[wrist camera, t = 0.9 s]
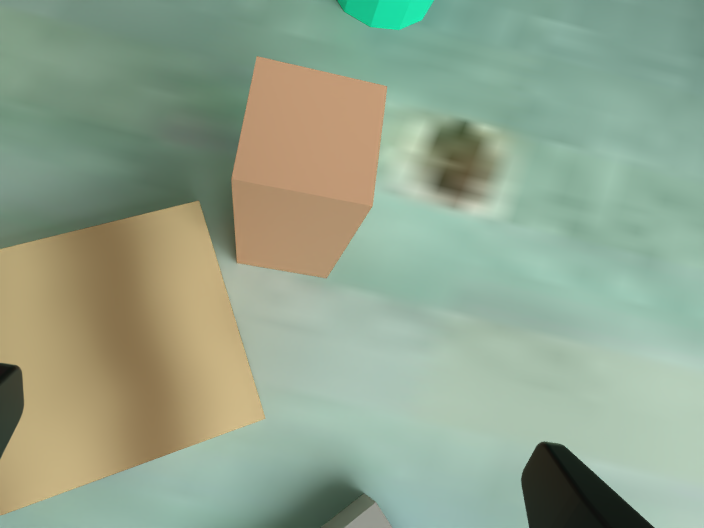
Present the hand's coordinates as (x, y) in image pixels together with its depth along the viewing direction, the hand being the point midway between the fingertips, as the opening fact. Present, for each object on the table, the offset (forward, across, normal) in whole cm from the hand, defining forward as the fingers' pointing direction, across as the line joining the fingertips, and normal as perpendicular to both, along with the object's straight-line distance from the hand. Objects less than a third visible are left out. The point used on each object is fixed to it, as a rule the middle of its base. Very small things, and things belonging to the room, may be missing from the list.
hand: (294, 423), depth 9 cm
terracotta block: (+15, 0, +3) cm, 15 cm away
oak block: (+11, +6, +8) cm, 15 cm away
